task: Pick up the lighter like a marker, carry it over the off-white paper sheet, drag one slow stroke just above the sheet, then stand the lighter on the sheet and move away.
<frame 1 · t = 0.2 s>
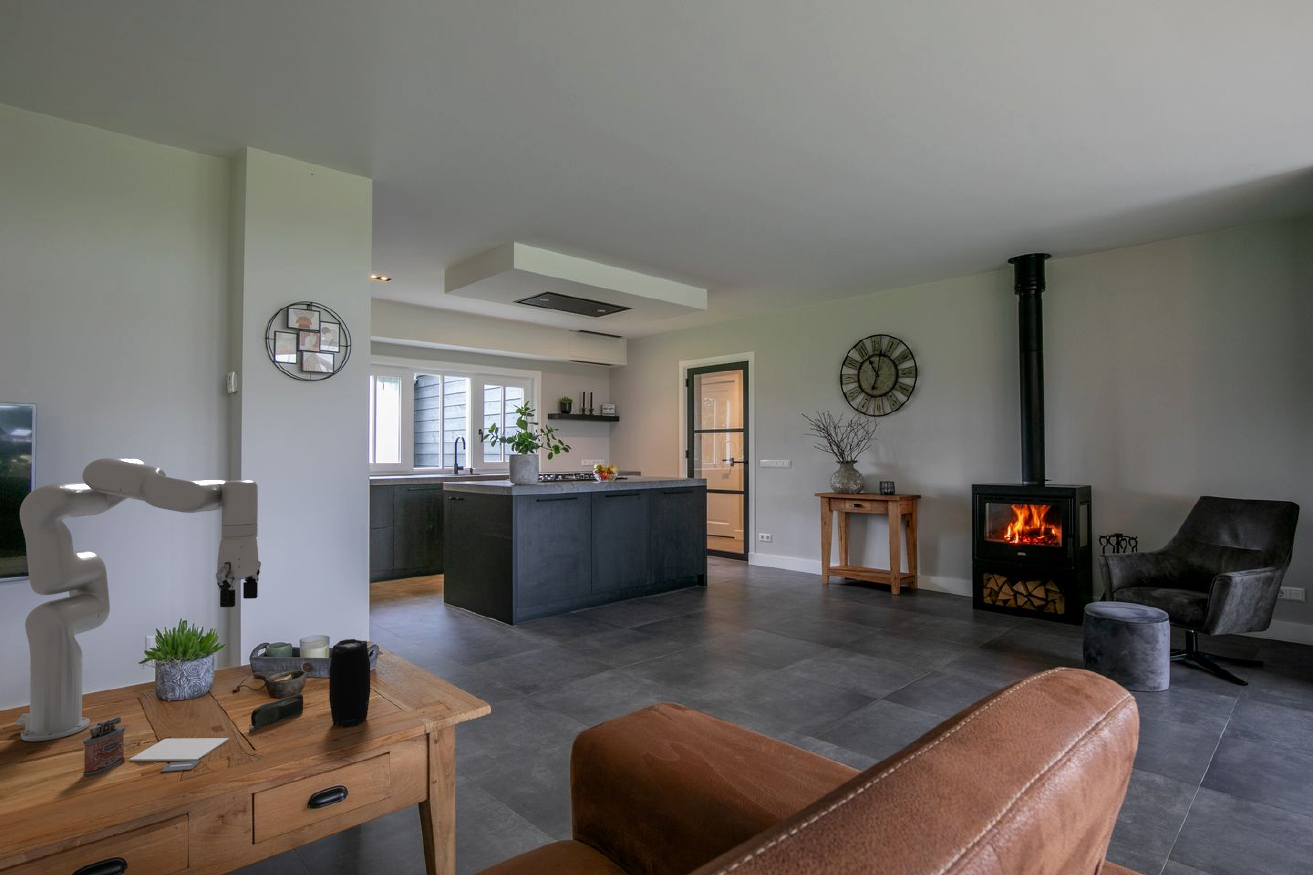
hand: (239, 602, 166), 31 cm above the table, tool pointing down, fingers open, 9 cm apart
dark elongated piece: (275, 722, 172), on the table
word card: (180, 767, 147), on the table
paper: (180, 750, 155), on the table
lighter: (104, 769, 146), on the table
portable speaker: (349, 722, 171), on the table
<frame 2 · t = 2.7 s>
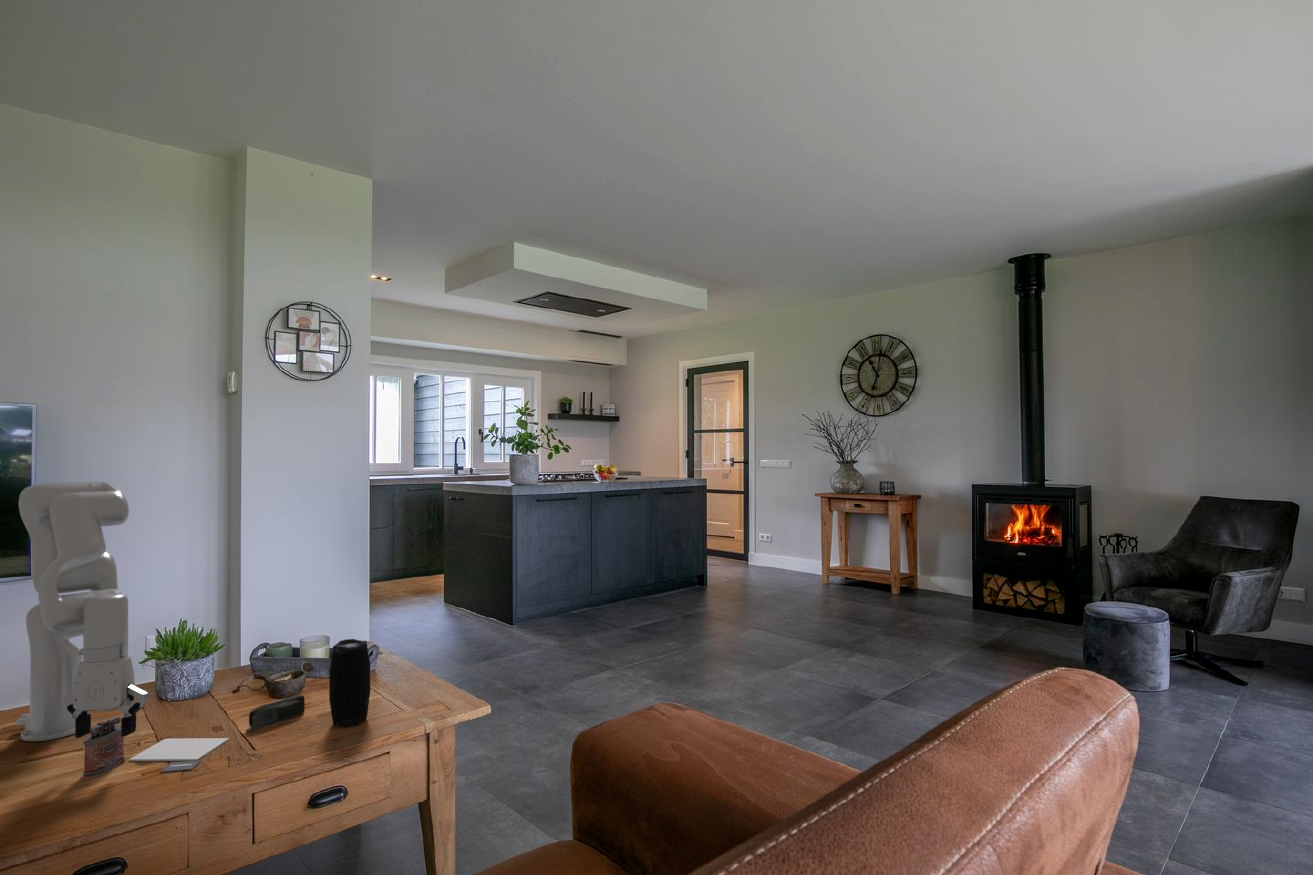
hand: (105, 734, 146), 7 cm above the table, tool pointing down, fingers open, 9 cm apart
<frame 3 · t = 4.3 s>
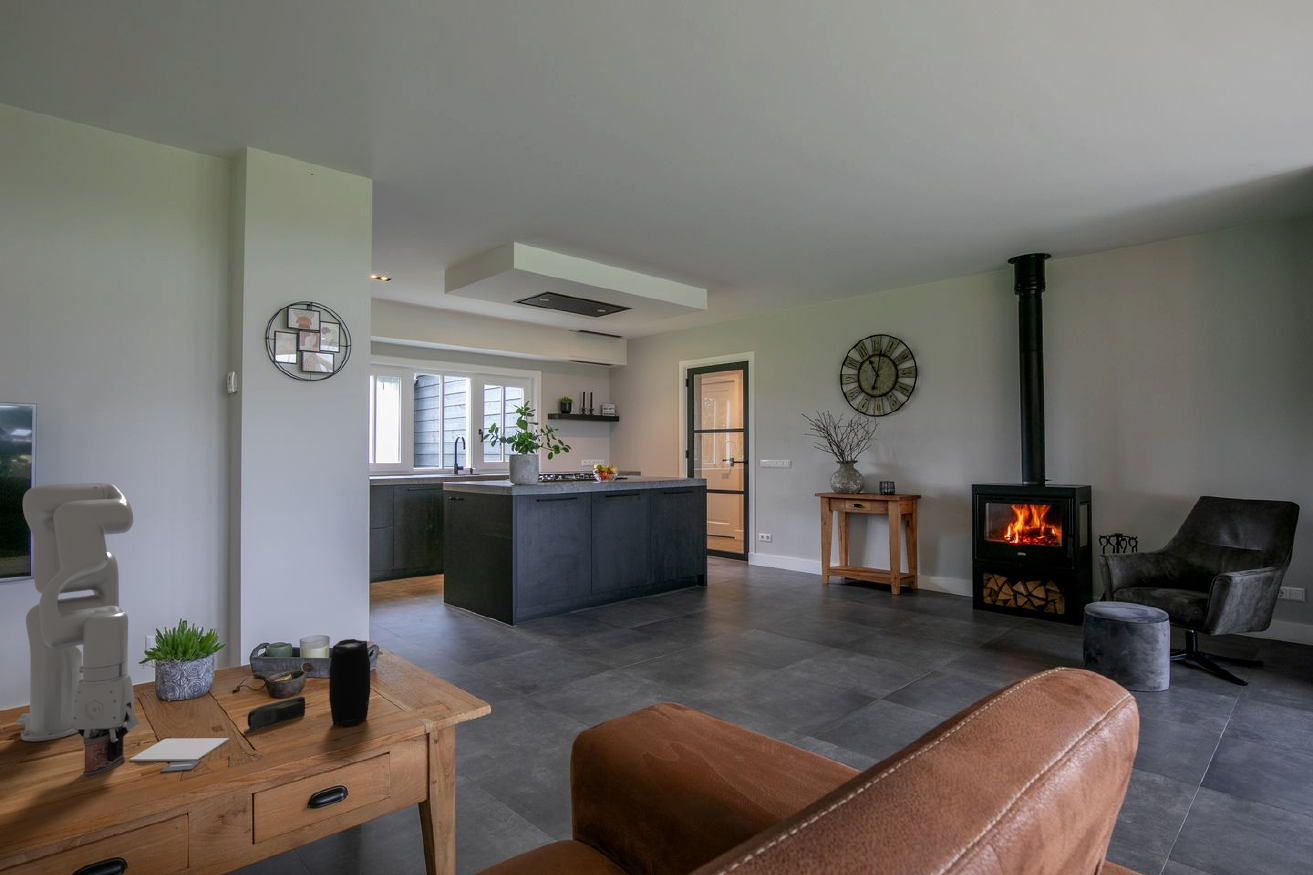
hand: (104, 757, 146), 2 cm above the table, tool pointing down, fingers closed on lighter, 3 cm apart
lighter: (104, 769, 146), on the table, touching gripper
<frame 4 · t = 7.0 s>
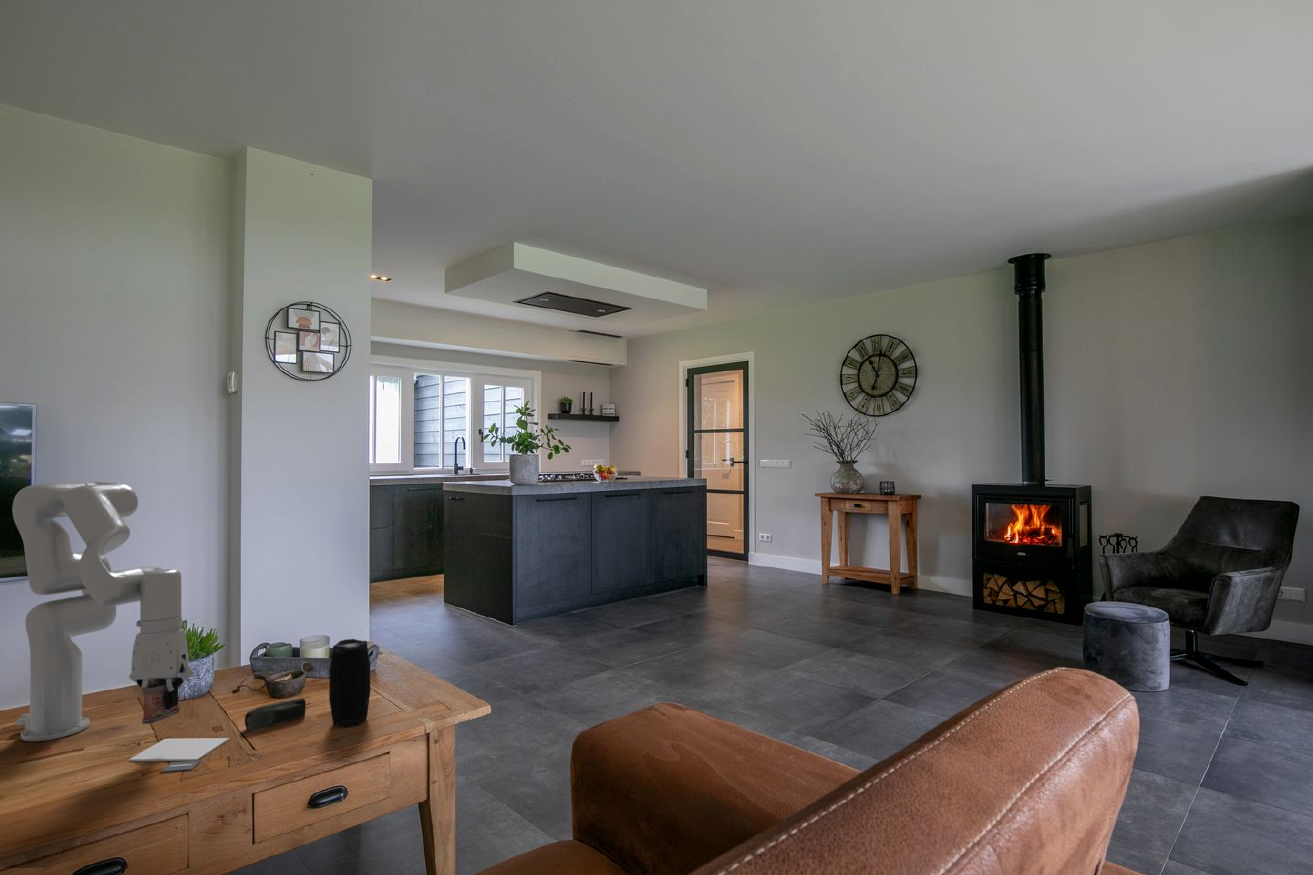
hand: (161, 706, 154), 10 cm above the table, tool pointing down, fingers closed on lighter, 3 cm apart
lighter: (161, 718, 154), point 8 cm above the table, touching gripper
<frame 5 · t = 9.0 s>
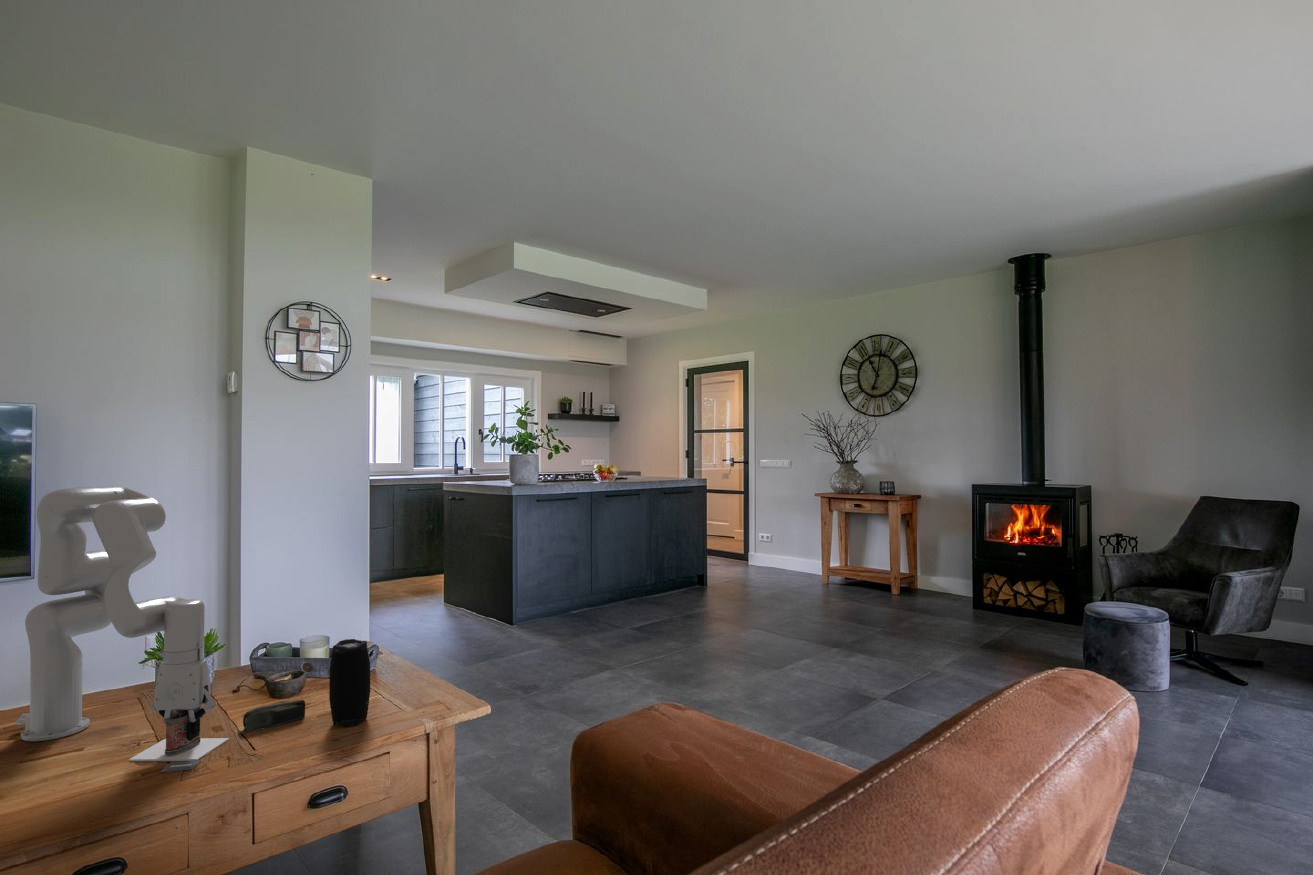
hand: (183, 736, 155), 3 cm above the table, tool pointing down, fingers closed on lighter, 3 cm apart
lighter: (182, 748, 155), point 1 cm above the table, touching gripper
when the fingers open (3 cm above the table, at t = 10.5 s): lighter stays where it is, resting on paper.
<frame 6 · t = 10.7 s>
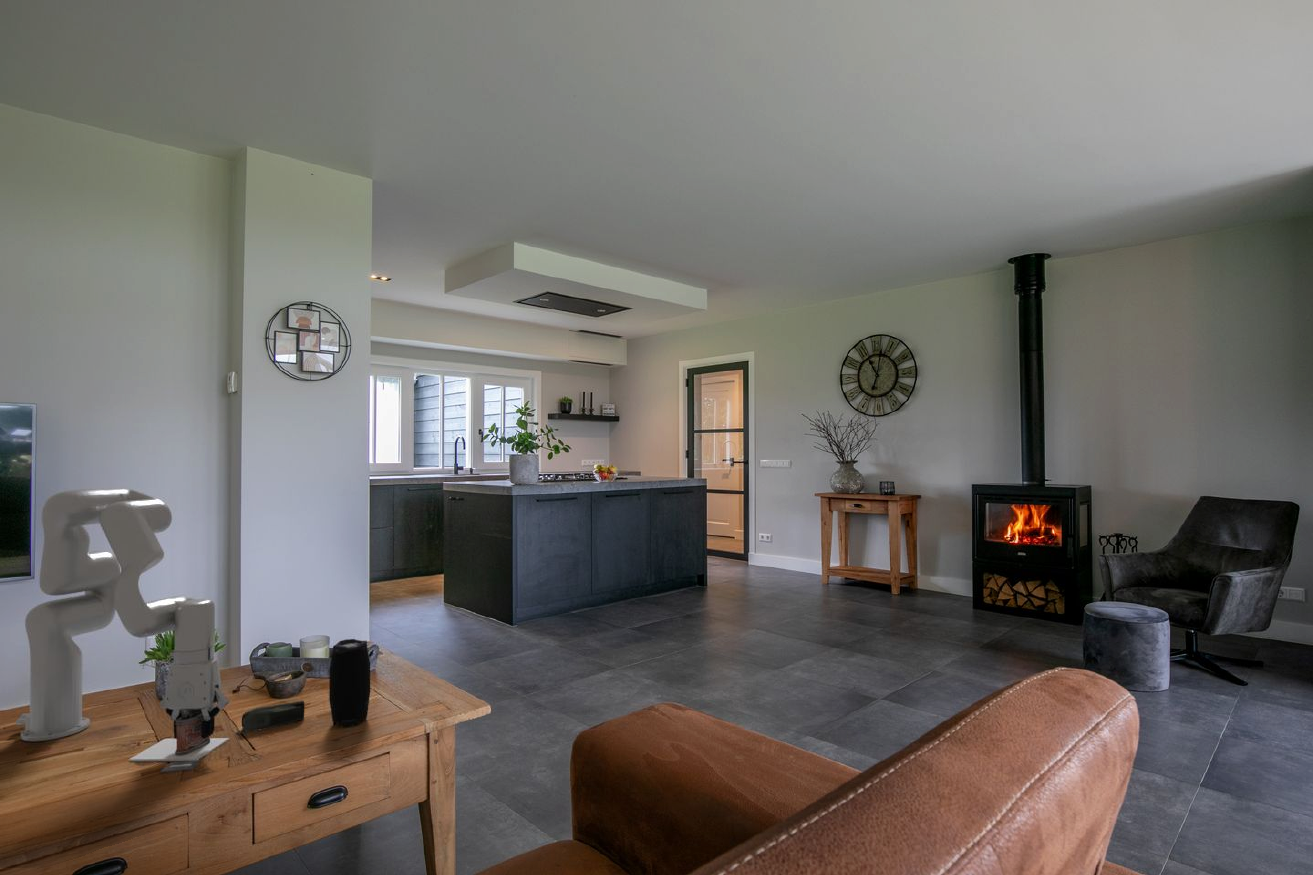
hand: (194, 735, 155), 3 cm above the table, tool pointing down, fingers open, 5 cm apart
lighter: (193, 749, 155), resting on paper
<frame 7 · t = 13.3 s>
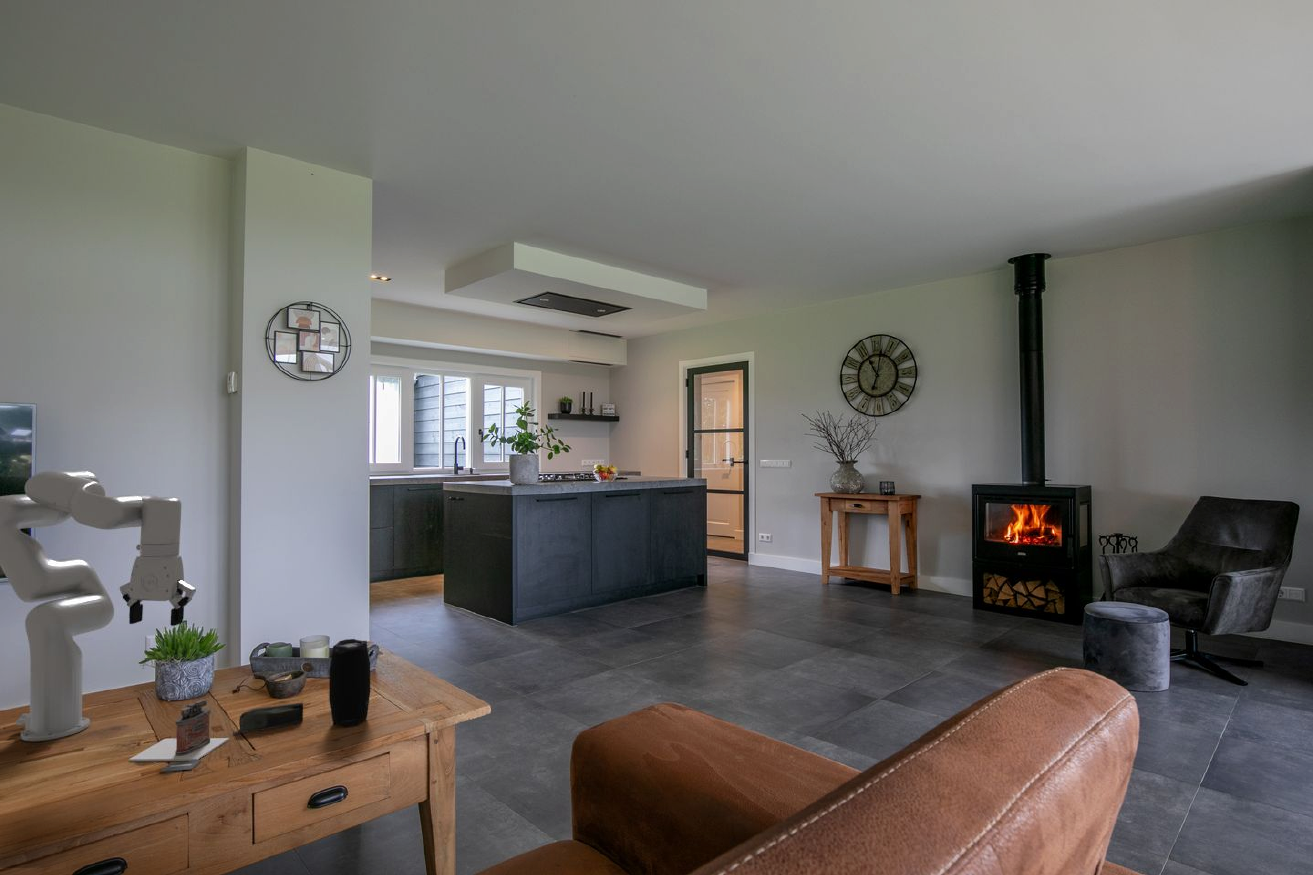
hand: (156, 623, 161), 27 cm above the table, tool pointing down, fingers open, 9 cm apart
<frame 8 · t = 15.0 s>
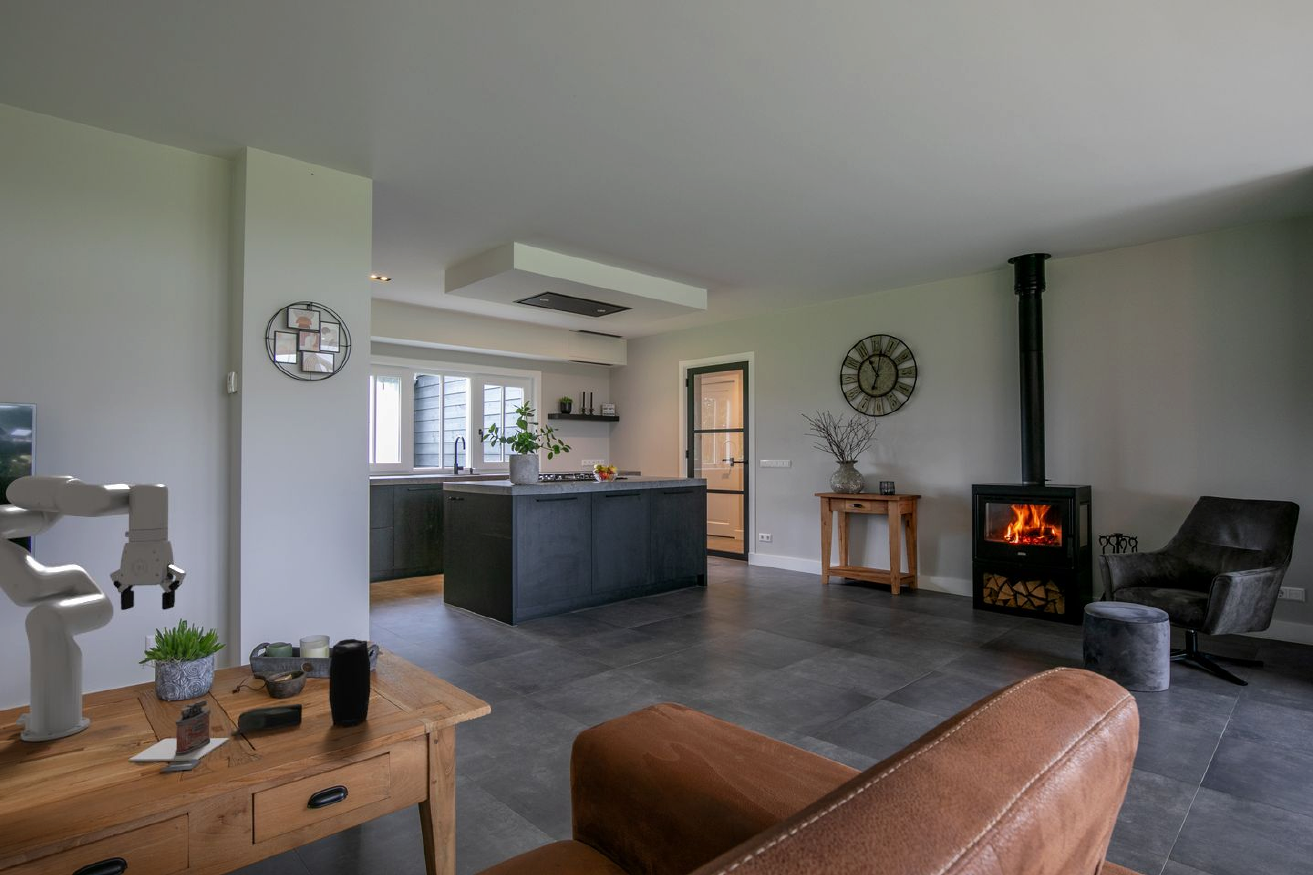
hand: (147, 608, 163), 30 cm above the table, tool pointing down, fingers open, 9 cm apart
at the end: lighter inside the target area on the paper (2.8 cm from its centre), point 0.2 cm above the paper's base; lighter tilted 0°; the gripper is holding nothing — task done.
